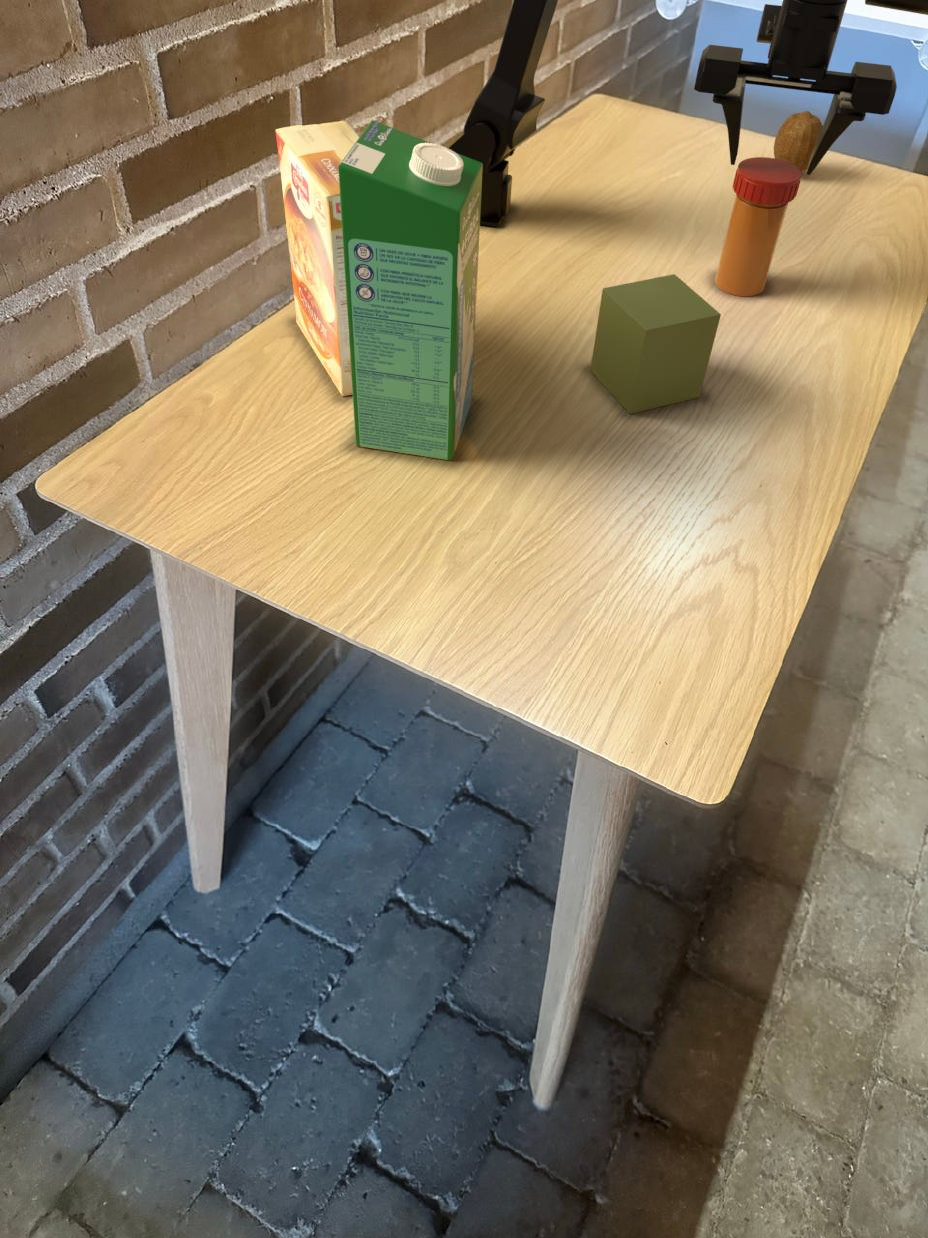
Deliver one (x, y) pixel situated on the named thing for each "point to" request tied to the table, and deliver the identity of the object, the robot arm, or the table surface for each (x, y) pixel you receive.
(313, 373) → the table surface
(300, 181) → the coffeecake box
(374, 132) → the milk carton
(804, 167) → the fruit
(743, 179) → the lid
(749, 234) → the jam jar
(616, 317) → the tea box
